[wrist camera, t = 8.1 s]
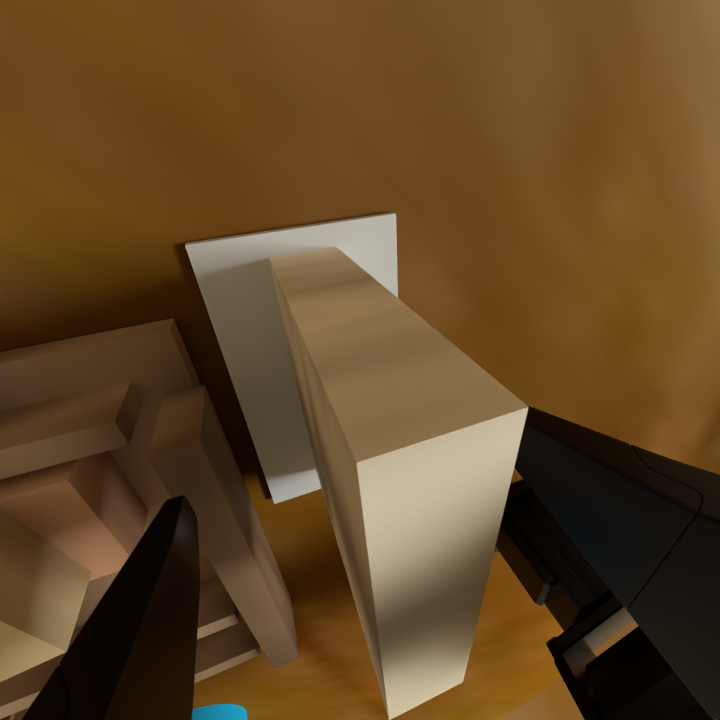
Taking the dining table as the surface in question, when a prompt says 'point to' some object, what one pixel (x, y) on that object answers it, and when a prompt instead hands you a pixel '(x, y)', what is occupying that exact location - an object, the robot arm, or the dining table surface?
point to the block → (400, 465)
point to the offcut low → (80, 510)
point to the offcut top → (35, 598)
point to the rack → (148, 479)
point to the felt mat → (278, 329)
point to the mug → (220, 712)
